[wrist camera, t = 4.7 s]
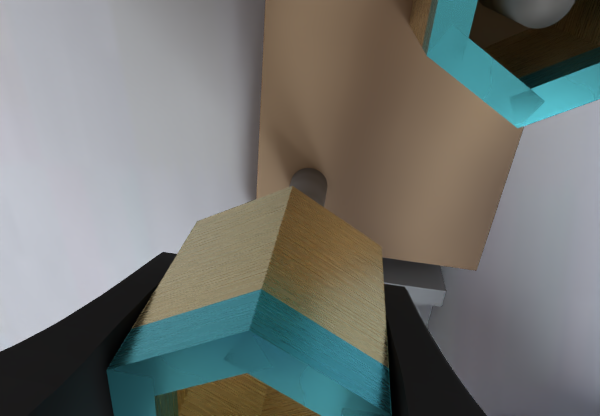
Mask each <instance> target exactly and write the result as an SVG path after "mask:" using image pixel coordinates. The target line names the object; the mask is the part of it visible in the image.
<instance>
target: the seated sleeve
mask: <svg viewBox="0 0 600 416" xmlns="http://www.w3.org/2000/svg"><path fill="white" fill-rule="evenodd" d="M477 2H478V0H414V1H413V6H412V12H411V17H410V23H409V25H410V27H411V29H412V31H413V33H414V34H415V36H416V38H417V40H418V41H419V43H420V45H421V47H422V49H423V50H424V52H425V54H426V56H428V57H429V58H430V59H431V60H433V61H434V62H435V63H436V64H438V65H439V66H440V67H441V68H443V69H444V70H445V71H446V72H448V73H449V74H450V75H451V76H453V77H454V78H455V79H456V80H458V81H459V82H460V83H461V84H463V85H464V86H465V87H466V88H468V89H469V90H470V91H471V92H473V93H474V94H475V95H476V96H478V97H479V98H480V99H481V100H483V101H484V102H485V103H486V104H488V105H489V106H490V107H492V108H493V109H494V110H495V111H497V112H498V113H499V114H500V115H502V116H503V117H504V118H505V119H507V120H508V121H509V122H510V123H512V124H513V125H514V126H515V127H517V128H520V127H523V126H526V125H528V124H531V123H534V122H537V121H540V120H542V119H545V118H548V117H551V116H554V115H557V114H559V113H562V112H565V111H568V110H571V109H573V108H576V107H579V106H582V105H585V104H587V103H590V102H593V101H596V100H599V99H600V0H575V2H574V4H573V6H572V8H571V9H570V10H569V12H568V13H567V14H566V15H565V16H564V17H563V18H562V19H561V20H559V21H558V22H556V23H555V24H553V25H551V26H548V27H545V28H538V29H537V28H530V29H528V30H526V31H523V32H521V33H518V34H516V35H514V36H511V37H509V38H506V39H504V40H502V41H499V42H497V43H494V44H492V45H489V46H487V47H485V48H482V47H480V46H479V45H478V44H477V43H476V42H474V41H473V40H472V39H471V38H470V37H469V34H470V30H471V26H472V22H473V18H474V14H475V10H476V6H477Z"/></svg>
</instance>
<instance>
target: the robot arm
mask: <svg viewBox="0 0 600 416" xmlns="http://www.w3.org/2000/svg"><path fill="white" fill-rule="evenodd" d="M176 255H177V254H173V253H166V252H162V253H161V254H159V255H158V256H156V257H155V258H153V259H152V260H151V261H149V262H148V263H146V264H145V265H144V266H142V267H141V268H140V269H138V270H137V271H135V272H134V273H133V274H131V275H130V276H128V277H127V278H126V279H124V280H123V281H121V282H120V283H118V284H117V285H116V286H114V287H113V288H111V289H110V290H108V291H107V292H105V293H104V294H102V295H101V296H100V297H98V298H96V299H95V300H93V301H92V302H90V303H88V304H87V305H85V306H84V307H82V308H80V309H79V310H77V311H76V312H74V313H72V314H71V315H69V316H68V317H66V318H64V319H63V320H61V321H59V322H58V323H56V324H54V325H52V326H50V327H49V328H47V329H45V330H43V331H41V332H39V333H37V334H35V335H34V336H32V337H30V338H28V339H26V340H24V341H22V342H20V343H18V344H16V345H14V346H12V347H10V348H7V349H5V350H3V351H1V352H0V416H114V413H113V407H112V401H111V395H110V389H109V383H108V376H107V371H106V370H107V368H108V367H109V365H110V363H111V362H112V360H113V359H114V357H115V355H116V354H117V352H118V350H119V349H120V347H121V345H122V344H123V342H124V341H125V339H126V337H127V336H128V334H129V332H130V331H131V329H132V327H133V326H134V324H135V323H136V321H137V319H138V318H139V316H140V314H141V313H142V311H143V309H144V308H145V306H146V305H147V303H148V301H149V300H150V298H151V296H152V295H153V293H154V291H155V290H156V288H157V286H158V285H159V283H160V282H161V280H162V278H163V277H164V275H165V273H166V272H167V270H168V268H169V267H170V265H171V264H172V262H173V260H174V259H175V257H176ZM384 293H385V311H386V328H387V345H388V362H389V380H390V397H391V414H392V416H487V415H486V414H485V413H484V412H483V410H482V409H481V408H480V407H479V405H478V404H477V403H476V402H475V400H474V399H473V398H472V396H471V395H470V394H469V392H468V391H467V389H466V388H465V387H464V385H463V384H462V383H461V381H460V380H459V378H458V377H457V375H456V374H455V372H454V371H453V370H452V368H451V367H450V365H449V363H448V362H447V360H446V359H445V357H444V356H443V354H442V352H441V351H440V349H439V348H438V346H437V344H436V343H435V341H434V339H433V338H432V336H431V334H430V332H429V331H428V329H427V327H426V325H425V324H424V322H423V320H422V318H421V316H420V314H419V312H418V310H417V309H416V307H415V305H414V303H413V300H412V298H411V296H410V294H409V292H408V290H407V289H406V288H405V287H404V286H397V285H390V284H384Z"/></svg>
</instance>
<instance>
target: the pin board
mask: <svg viewBox="0 0 600 416" xmlns="http://www.w3.org/2000/svg"><path fill="white" fill-rule="evenodd" d="M413 1H414V0H265V19H264V41H263V63H262V85H261V106H260V128H259V150H258V172H257V194H256V199H258V198H261V197H264V196H267V195H269V194H272V193H275V192H277V191H280V190H283V189H285V188H288V187H291V186H294V187H295V188H297V189H298V190H300V191H301V192H302V193H304V194H305V195H307V196H308V197H310V198H311V199H313V200H314V201H316V202H317V203H319V204H320V205H322V206H323V207H324V208H326V209H327V210H329V211H330V212H332V213H333V214H335V215H336V216H338V217H339V218H341V219H342V220H344V221H345V222H346V223H348V224H349V225H351V226H352V227H354V228H355V229H357V230H358V231H360V232H361V233H363V234H364V235H366V236H367V237H368V238H370V239H371V240H373V241H374V242H376V243H377V244H379V245H380V246H382V257H383V258H390V259H397V260H404V261H411V262H418V263H426V264H433V265H440V266H447V267H454V268H461V269H468V270H475V271H476V270H477V267H478V264H479V261H480V258H481V255H482V252H483V249H484V246H485V243H486V240H487V237H488V234H489V231H490V228H491V225H492V222H493V219H494V216H495V213H496V210H497V207H498V204H499V201H500V198H501V195H502V192H503V189H504V186H505V183H506V180H507V177H508V174H509V171H510V168H511V165H512V162H513V159H514V155H515V152H516V149H517V146H518V143H519V140H520V137H521V134H522V131H523V128H524V126H523V127H520V128H517V127H515V126H514V125H513V124H512V123H510V122H509V121H508V120H507V119H505V118H504V117H503V116H502V115H500V114H499V113H498V112H497V111H495V110H494V109H493V108H492V107H490V106H489V105H488V104H486V103H485V102H484V101H483V100H481V99H480V98H479V97H478V96H476V95H475V94H474V93H473V92H471V91H470V90H469V89H468V88H466V87H465V86H464V85H463V84H461V83H460V82H459V81H458V80H456V79H455V78H454V77H453V76H451V75H450V74H449V73H448V72H446V71H445V70H444V69H443V68H441V67H440V66H439V65H438V64H436V63H435V62H434V61H433V60H431V59H430V58H429V57H428V56H426V54H425V52H424V50H423V49H422V47H421V45H420V43H419V41H418V40H417V38H416V36H415V34H414V33H413V31H412V29H411V27H410V25H409V23H410V17H411V12H412V6H413ZM574 2H575V0H478V2H477V6H476V10H475V14H474V18H473V22H472V26H471V30H470V34H469V37H470V38H471V39H472V40H473V41H474V42H476V43H477V44H478V45H479V46H480V47H482V48H485V47H487V46H489V45H492V44H494V43H497V42H499V41H502V40H504V39H506V38H509V37H511V36H514V35H516V34H518V33H521V32H523V31H526V30H528V29H530V28H537V29H538V28H545V27H548V26H551V25H553V24H555V23H556V22H558V21H559V20H561V19H562V18H563V17H564V16H565V15H566V14H567V13H568V12H569V10H570V9H571V8H572V6H573V4H574Z"/></svg>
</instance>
